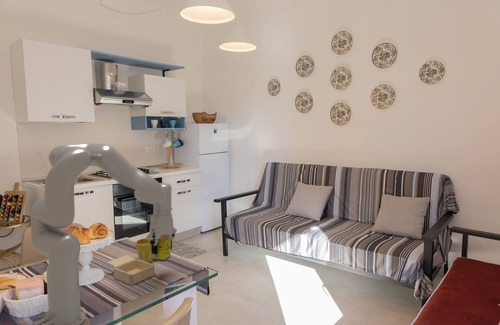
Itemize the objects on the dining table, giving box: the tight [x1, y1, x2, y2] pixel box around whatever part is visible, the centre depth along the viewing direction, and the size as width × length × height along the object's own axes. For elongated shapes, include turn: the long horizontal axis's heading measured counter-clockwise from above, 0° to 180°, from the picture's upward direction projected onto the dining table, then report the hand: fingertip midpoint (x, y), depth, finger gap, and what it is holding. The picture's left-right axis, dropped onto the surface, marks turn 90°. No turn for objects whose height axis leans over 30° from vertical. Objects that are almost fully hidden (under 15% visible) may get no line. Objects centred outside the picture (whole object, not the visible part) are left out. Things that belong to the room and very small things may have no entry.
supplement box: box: [153, 235, 172, 262], centre depth 153 cm, size 6×6×11 cm
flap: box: [107, 254, 136, 268], centre depth 158 cm, size 11×6×1 cm, turn 146°
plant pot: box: [135, 237, 154, 263], centre depth 171 cm, size 10×10×10 cm
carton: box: [113, 258, 155, 286], centre depth 153 cm, size 13×13×5 cm
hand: (161, 251), depth 153 cm, fingers closed on supplement box, 7 cm apart
